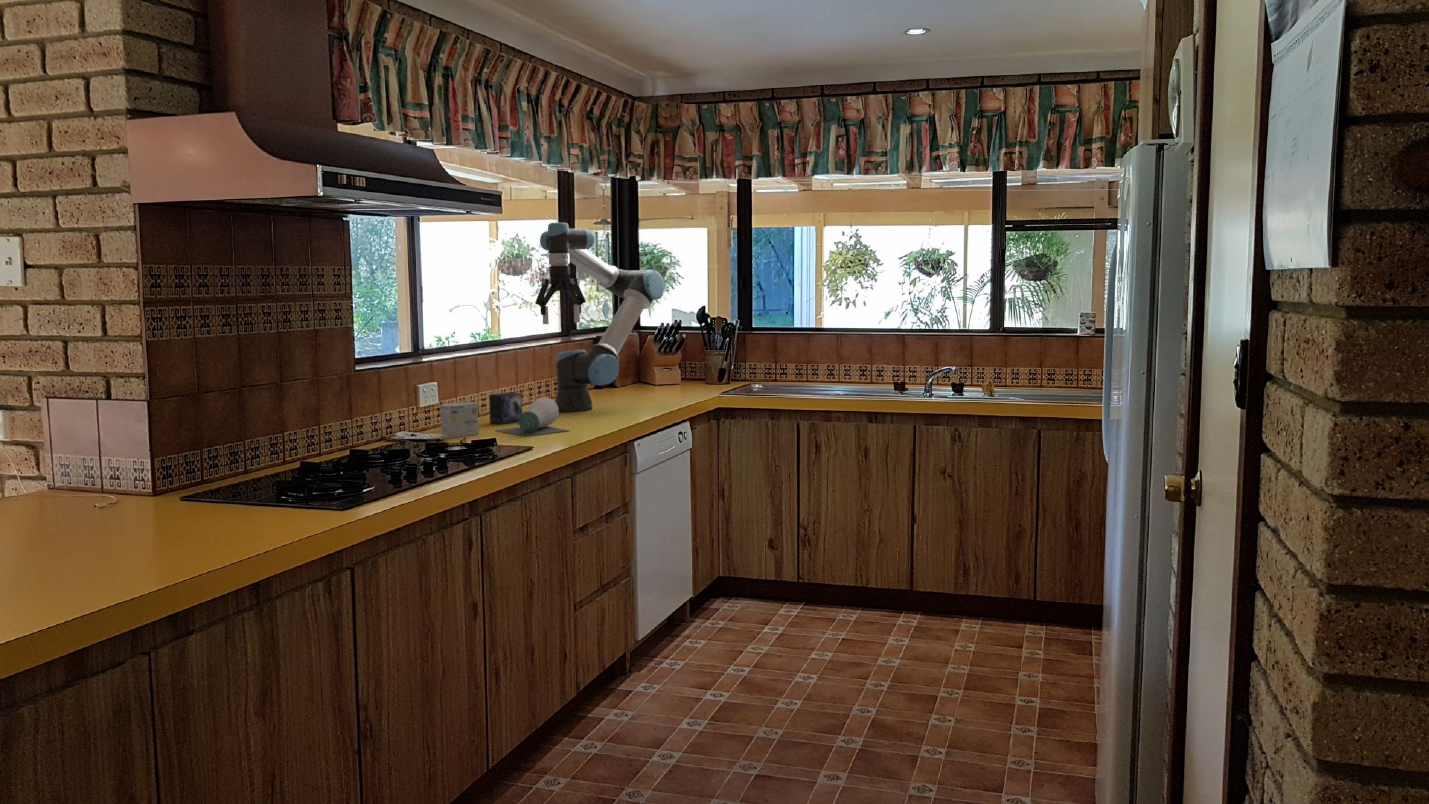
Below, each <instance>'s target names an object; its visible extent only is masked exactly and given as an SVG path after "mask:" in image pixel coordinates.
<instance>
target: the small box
mask: <svg viewBox="0 0 1429 804" xmlns="http://www.w3.org/2000/svg"><path fill="white" fill-rule="evenodd" d="M488 399H489V424H494V425H506V424H514V423H518V420H519V417H520V415H521V414H522V413H523V403H522V402H523V400H522V399H523V398H522V392H521V393H520V392H512V391H511V392H510V391H509V392H501V393H492V394H489V395H488Z"/></svg>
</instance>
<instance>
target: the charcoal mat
mask: <svg viewBox="0 0 1429 804" xmlns="http://www.w3.org/2000/svg"><path fill="white" fill-rule="evenodd" d="M494 431H495V432H498V433H504V434H510V435H513V436H514V435H515V436H519V437H524V438H525V437H527V438H528V437H534V436H543V435H551V434H552V435H553V434H559V433H567V432H570V430H569V429H565V428H558V427H553V426H549V425H548V426H546V427H544V428H538V429H537V430H536V431H535V432H533V433H527V432H524V431H523V430H522V429H521V428H520V426H519V427H518V426H517V427H510V428H503V429H495V430H494Z"/></svg>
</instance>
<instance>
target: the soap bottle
mask: <svg viewBox="0 0 1429 804" xmlns="http://www.w3.org/2000/svg"><path fill="white" fill-rule="evenodd" d="M559 414H560V411H559V409H558V406H557V404H556V402H555V400H554V399H552V398H550V397H546V396H545V397H543V396H541V397H539V398H536V399H535V400H533V401H532V402H531V403H530V404H529V405H528V407H527V408H526V410H525V411H523V412H522V414H521V415H520V417H519V420H518V422H517V423H518V426H519V427H520V428H521V429H522V430H523V431H524V432H527V433H533V432H535V431H536V430H537V429H538V428H544V427H546V426H548V427H549V426H550V425H552V424H553V423H554V422H555V421H556V420H557V419H558V417H559Z"/></svg>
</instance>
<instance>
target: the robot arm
mask: <svg viewBox="0 0 1429 804" xmlns="http://www.w3.org/2000/svg"><path fill="white" fill-rule="evenodd" d="M594 243H595V235H594V232H593V231H592V230H590V229H587V228H570V226H569V224H568V223H567V222H550V223H549V224H548V226H547V230H546V231H544V232H542V234H541V235H540V237H539V244H540V246H541V248H542V249H543V250H545V251H547V252H548V264H549V267H548V268H549V269H548V272H549V274H548V275H549V277H550V278H542V280H541V286H540V290H539V291H538V295H537V297H536V300H535V303H534V304H535V305H538V306H539V308H540V315H541V316H542V325H549V306H547V304H548V303H549V301H550V300H551V298H552V297H553V296H554V295H555V293H556V292H560V291H562V292H566V293H567V295H568V296H569V298H570V299H571V300H572V301H573V303H574V304H573V317H574V318H573V319H574V320H573V321H574V323H579V324H580V323H581V315H580V314H582V306H583V304H584V303H586V298H585V295H584V294H583V292H582V289H581V287H580V285H579V281H578V278H577V277H574V278H573V277H572V278H570V277H571V267H570V263H571V264H573V265H574V266H576V267H577V268H579V269H580V270H582V271H583V272H585V273H586V274H588V275H589V276H590V277H592V278H593V279H595V280H597V281H598V282H599V283H600V286H601V287H602V288H604V289H605V290H606V291H608V292H610V293H612V294H614V295H616V296H618V297H620V298H622V299H623V301H622V302H621V304H620V306H619V308H618V309H617V311H616V313H615V314H614V316H613V318H612V319H611V321H610V323H609V324H608V326H607V328H606V330H605V331H604V333H603V335H602V337H601V338H600V339H599V342H598V343H595V344H593V345H592V346H591V347H590V349H589V352H587V350H585V349H577V350H576V349H575V350H568V351H562V352H558V353H557V355H556V362H555V366H556V367H555V369H556V383H557V392H556V396H555V399H554V401H555V402H556V404H557V406H558V409H559V412H571V413H572V412H583V411H584V412H585V411H590V410H593V407H594V406H593V402H592V398H591V396H590V393H589V389H588V385H595V386H605V385H610V384H612V383H613V382H614V381H615V380H616V378H617V377H618V375H619V373H620V369H619V367H620V364H619V362H620V357H619V353H620V352H621V349H622V348H623V346H624V344H625V343H626V341H627V339H628V337H629V336H630V334H631V332H632V330H633V329H634V326H635V325H636V323H637V322H638V320H639V318H640V316H641V314H642V312H643V310H647V309H649V308H650V306H651V304H652V303H653V301H656V300H657V301H658V300H659V299H662V297H663V296H664V293H665V284H664V283H665V282H664V278H663V276H662V275H661V273H659V272H658V271H657V270H654V269H653V270H651V269H646V270H641V269H640V270H638V269H637V270H627V269H626V270H624V269H620V268H618V267H617V266H616V265H610V264H608V263H606V261H604V260H602V259H601V258H599V257H597V256H596V255H595V254H593V253H592V252H590V251H589V250H590V249H591V248H592V247H593V246H594ZM588 249H589V250H588ZM570 284H571V285H570ZM549 285H550V287H549ZM572 288H573V289H572ZM547 290H548V291H547Z"/></svg>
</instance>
